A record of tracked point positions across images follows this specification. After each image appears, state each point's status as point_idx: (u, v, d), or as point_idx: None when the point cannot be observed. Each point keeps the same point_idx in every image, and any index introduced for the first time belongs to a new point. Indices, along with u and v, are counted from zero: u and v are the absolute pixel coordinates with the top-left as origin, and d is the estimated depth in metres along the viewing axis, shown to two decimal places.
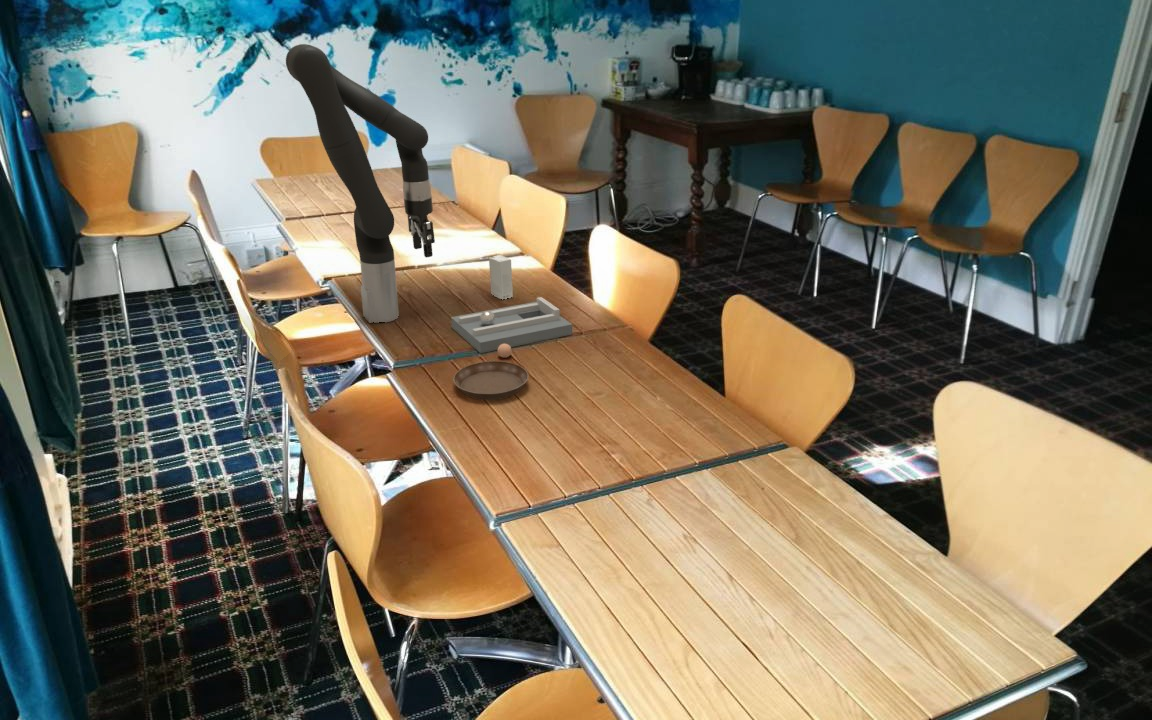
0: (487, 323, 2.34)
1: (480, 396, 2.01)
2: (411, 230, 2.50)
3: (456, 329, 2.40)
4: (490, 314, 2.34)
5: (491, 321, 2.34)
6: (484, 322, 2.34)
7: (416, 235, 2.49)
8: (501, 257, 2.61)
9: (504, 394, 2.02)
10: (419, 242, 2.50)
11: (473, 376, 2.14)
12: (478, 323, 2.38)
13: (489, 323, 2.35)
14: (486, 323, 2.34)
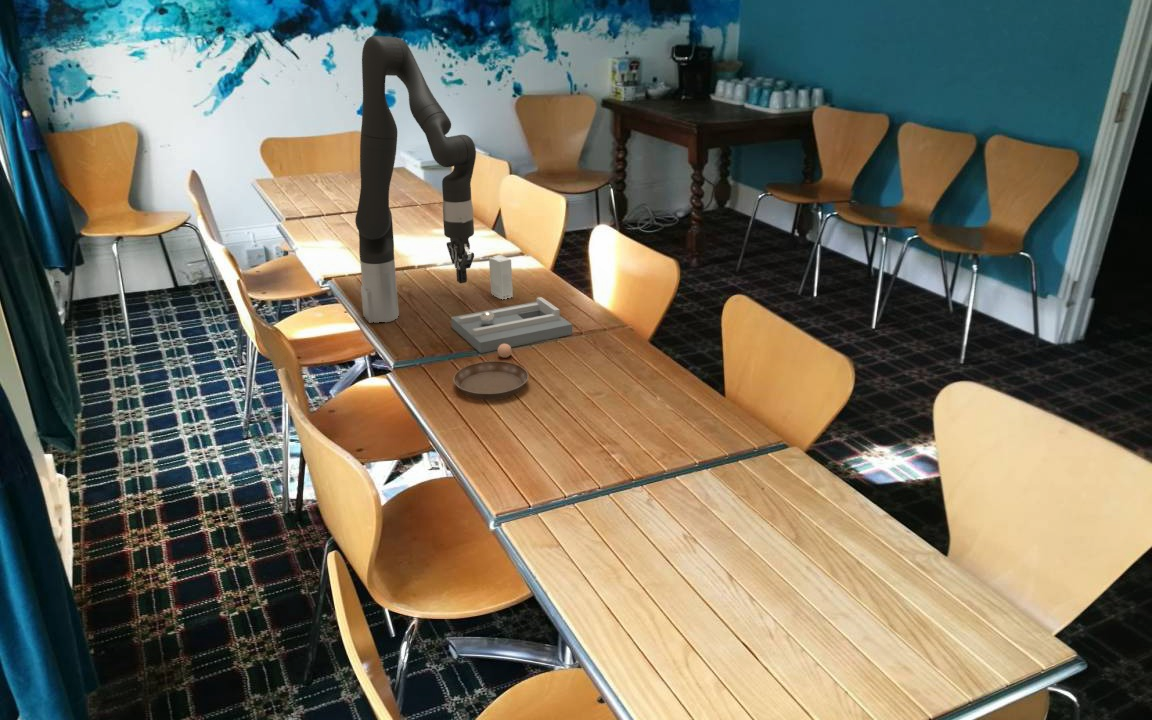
0: (487, 323, 2.34)
1: (480, 396, 2.01)
2: (454, 260, 2.27)
3: (456, 329, 2.40)
4: (490, 314, 2.34)
5: (491, 321, 2.34)
6: (484, 322, 2.34)
7: None
8: (501, 257, 2.61)
9: (504, 394, 2.02)
10: None
11: (473, 376, 2.14)
12: (478, 323, 2.38)
13: (489, 323, 2.35)
14: (486, 323, 2.34)
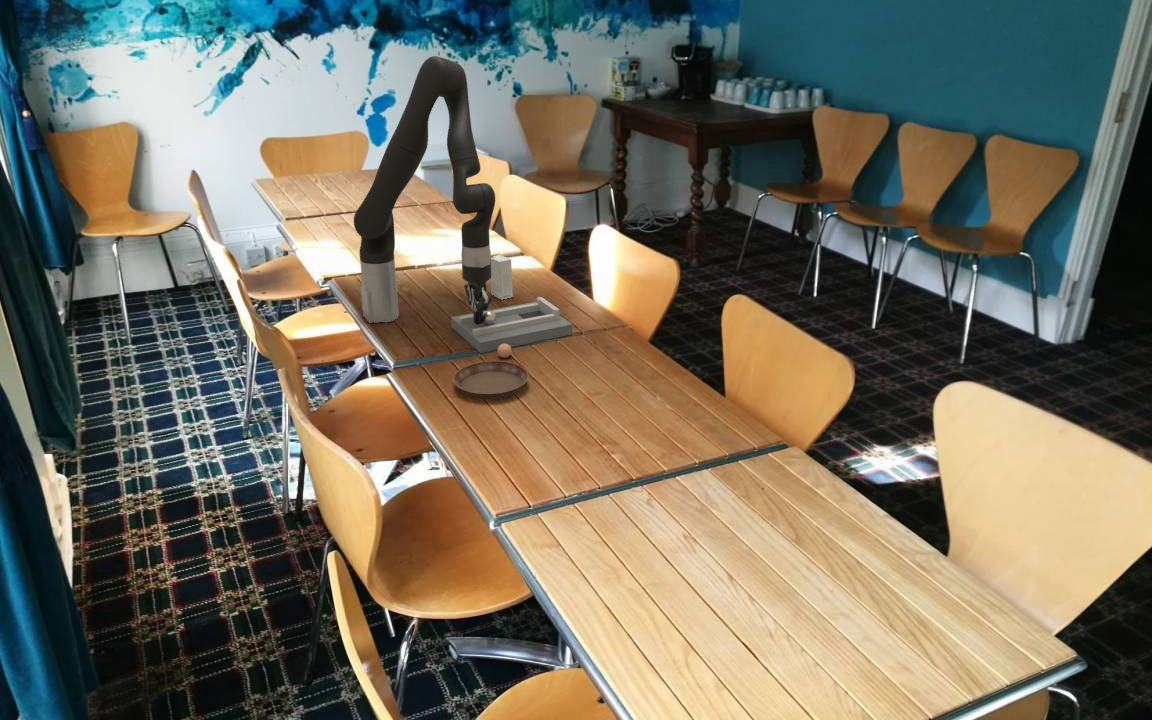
0: (488, 322, 2.34)
1: (480, 396, 2.01)
2: (471, 302, 2.34)
3: (456, 329, 2.40)
4: (492, 314, 2.35)
5: (492, 321, 2.35)
6: (485, 321, 2.34)
7: None
8: (501, 257, 2.61)
9: (503, 394, 2.02)
10: None
11: (473, 376, 2.14)
12: None
13: (490, 323, 2.35)
14: (487, 322, 2.34)
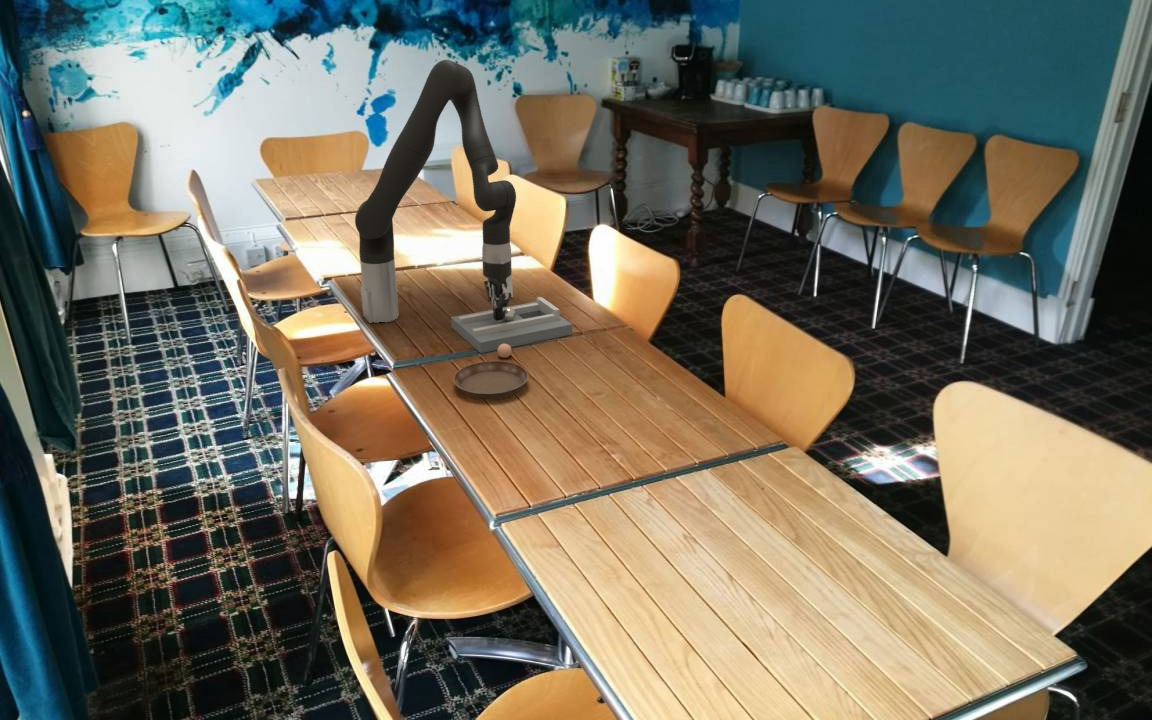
0: (510, 312, 2.37)
1: (480, 396, 2.01)
2: None
3: (456, 329, 2.40)
4: (512, 320, 2.38)
5: (509, 317, 2.37)
6: (512, 311, 2.37)
7: None
8: None
9: (503, 394, 2.02)
10: None
11: (473, 376, 2.14)
12: (478, 323, 2.38)
13: (509, 314, 2.36)
14: (511, 312, 2.37)
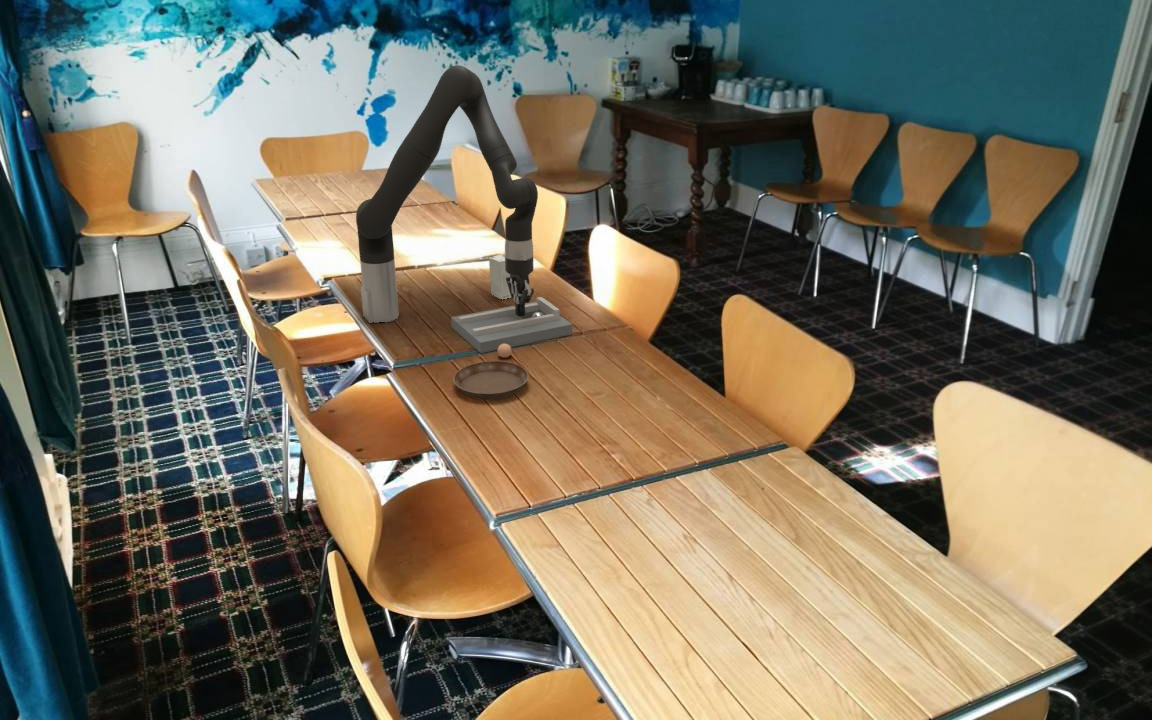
0: None
1: (480, 396, 2.01)
2: (513, 294, 2.39)
3: (456, 329, 2.40)
4: None
5: None
6: None
7: None
8: (501, 257, 2.61)
9: (503, 394, 2.02)
10: None
11: (473, 376, 2.14)
12: (478, 323, 2.38)
13: None
14: None
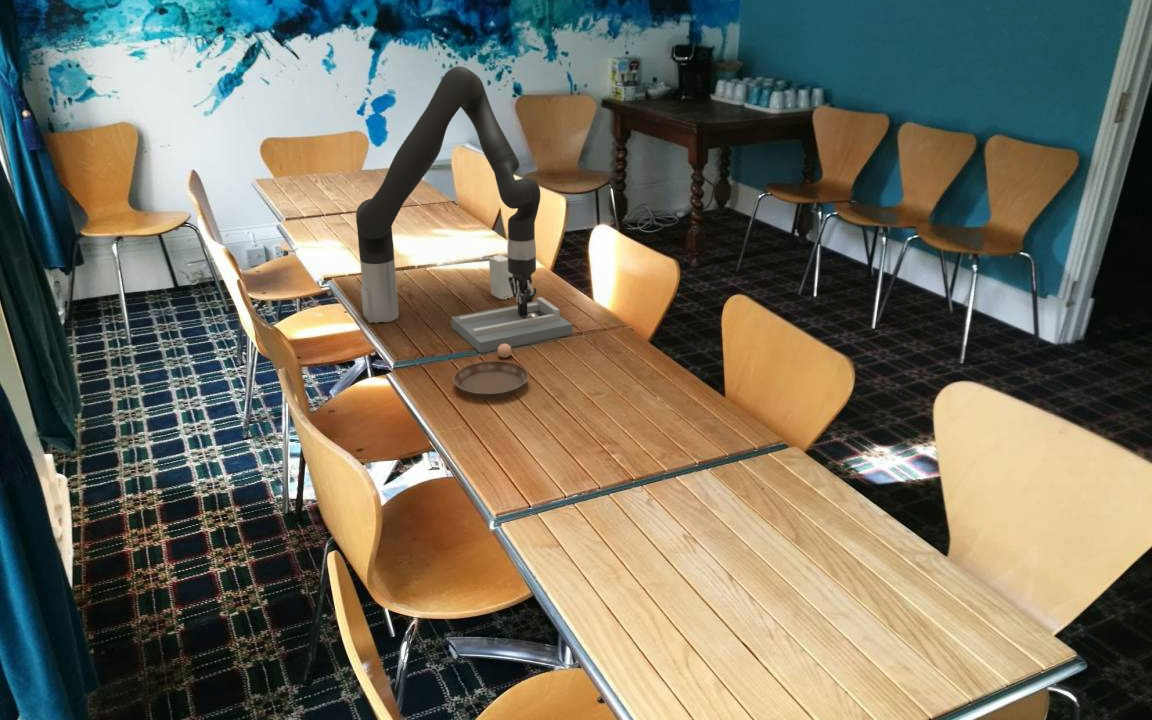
0: None
1: (480, 396, 2.01)
2: (516, 294, 2.40)
3: (456, 329, 2.40)
4: (535, 316, 2.41)
5: None
6: None
7: None
8: (501, 257, 2.61)
9: (503, 394, 2.02)
10: None
11: (473, 376, 2.14)
12: (478, 323, 2.38)
13: None
14: None
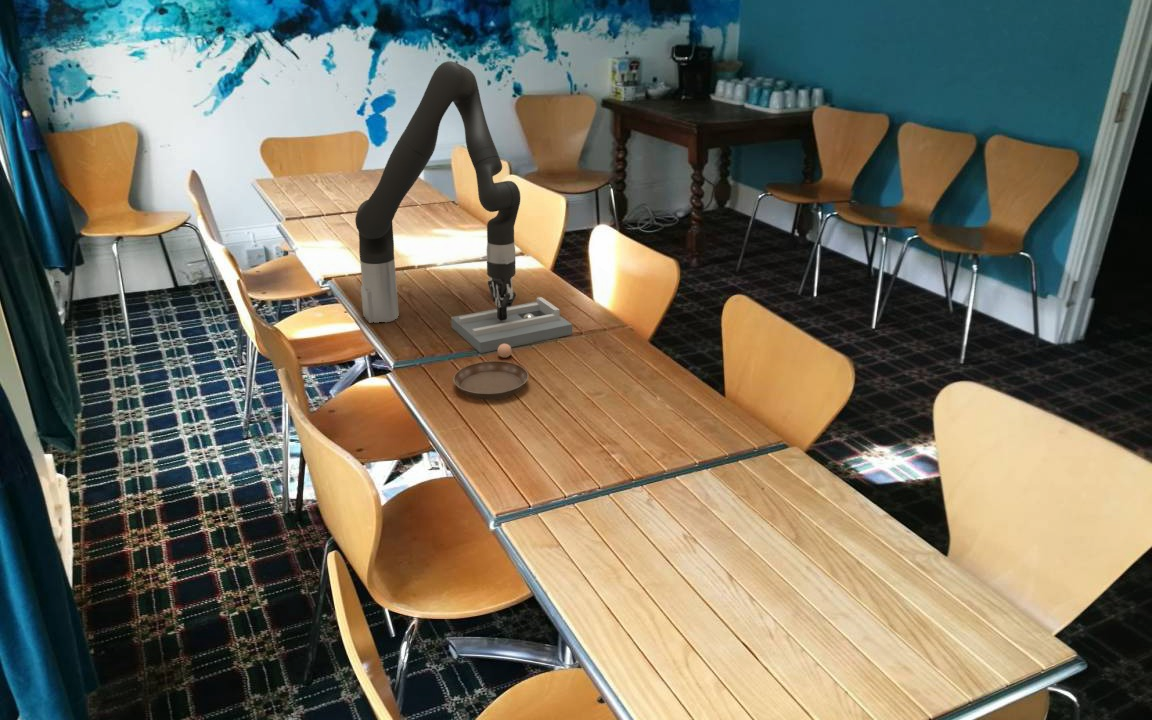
0: None
1: (480, 396, 2.01)
2: None
3: (456, 329, 2.40)
4: (529, 317, 2.41)
5: None
6: None
7: None
8: None
9: (503, 394, 2.02)
10: None
11: (473, 376, 2.14)
12: (478, 323, 2.38)
13: None
14: None
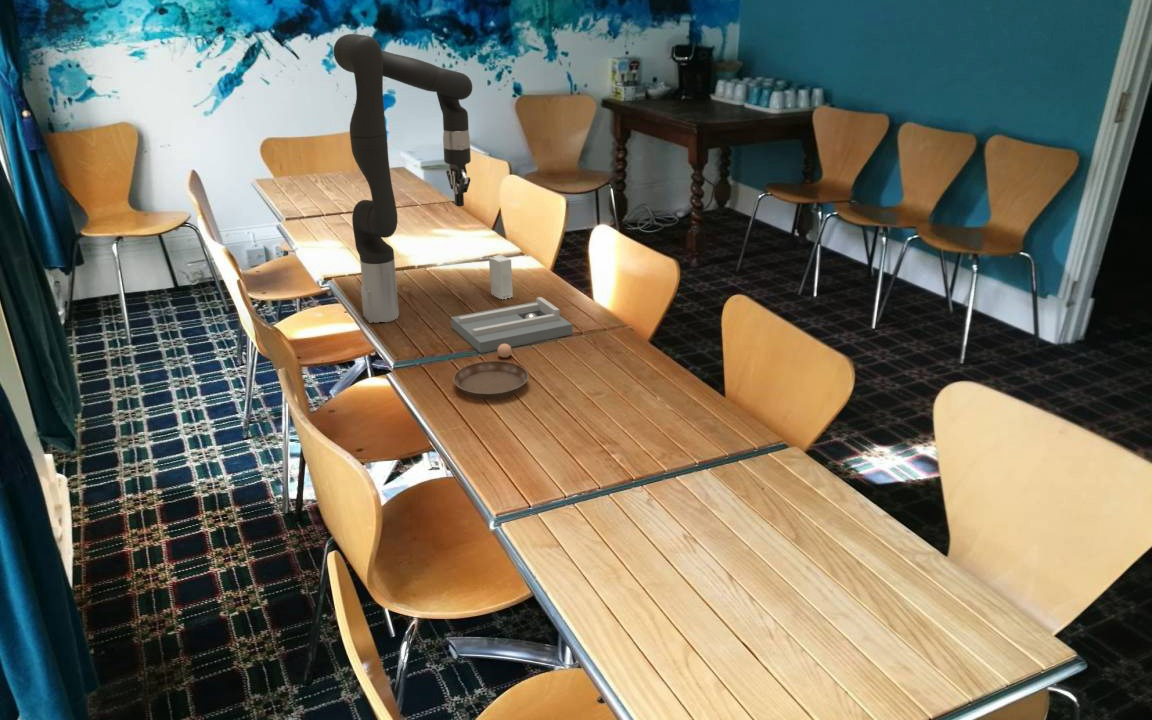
0: None
1: (480, 396, 2.01)
2: None
3: (456, 329, 2.40)
4: (532, 316, 2.41)
5: None
6: None
7: None
8: (501, 257, 2.61)
9: (503, 394, 2.02)
10: None
11: (473, 376, 2.14)
12: (478, 323, 2.38)
13: None
14: None
